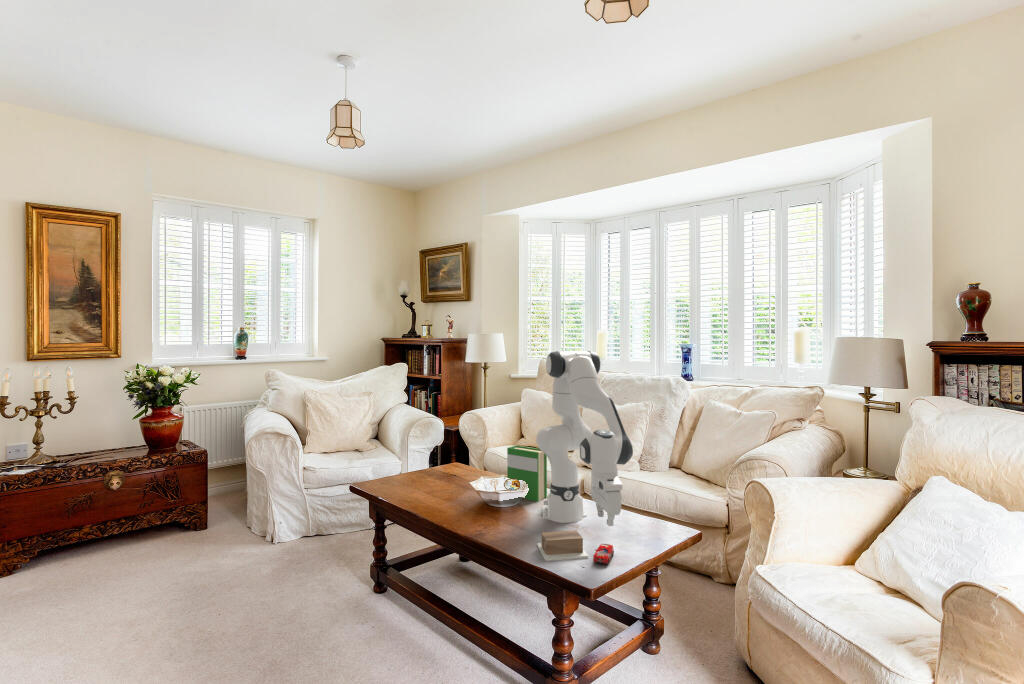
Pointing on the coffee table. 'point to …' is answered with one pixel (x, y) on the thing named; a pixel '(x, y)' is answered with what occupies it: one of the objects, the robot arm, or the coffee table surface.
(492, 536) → the coffee table surface
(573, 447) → the robot arm
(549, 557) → the board
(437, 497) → the coffee table surface
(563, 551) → the walnut block
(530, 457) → the hardback book
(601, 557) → the race car
